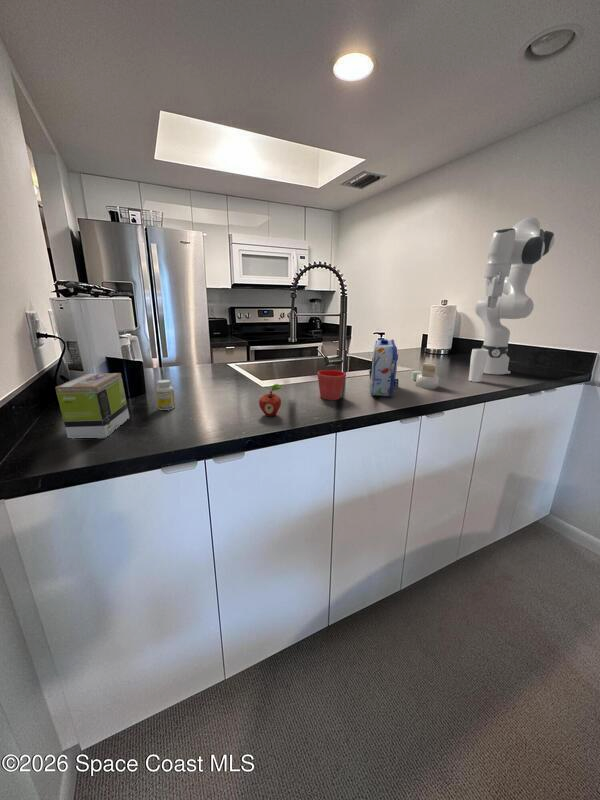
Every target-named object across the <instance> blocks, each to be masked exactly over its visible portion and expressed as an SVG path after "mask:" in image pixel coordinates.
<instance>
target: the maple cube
mask: <svg viewBox="0 0 600 800" xmlns="http://www.w3.org/2000/svg"><path fill="white" fill-rule="evenodd" d="M436 367H437V365H436V363H429V362H428V363H427V362H423V364H422V371H421V372H422V376H424V377H434V375H436V374H435V372H436Z"/></svg>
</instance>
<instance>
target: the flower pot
mask: <svg viewBox="0 0 600 800" xmlns="http://www.w3.org/2000/svg"><path fill="white" fill-rule="evenodd" d="M346 375H347V374H346V372H344V371H341V370H335V369H327V370H326V369H325V370H319V371H317V380H318V389H319V395H320V398H321V399H323V400H326V399H327V401H328V400H329V401H336V400H340V399H341V396H342V392H343V388H344V385H345V380H346Z"/></svg>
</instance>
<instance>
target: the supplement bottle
mask: <svg viewBox="0 0 600 800" xmlns="http://www.w3.org/2000/svg"><path fill="white" fill-rule="evenodd" d="M156 385H157V387H156V389H155V392H156V393H155V394H156V401H157V408H158V410H160V411H161V410H168V411H171V410H170V409H172V410H174V409H175V407H176V402H175V393H174V387H173V386H171V385H172V384H171V379H160V380H157V384H156ZM173 408H174V409H173Z"/></svg>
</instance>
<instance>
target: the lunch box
mask: <svg viewBox="0 0 600 800" xmlns="http://www.w3.org/2000/svg"><path fill="white" fill-rule="evenodd" d="M398 359H399V354H398V347H397V346H396V344H395V340H394V339H387V338H385V339H383V338H381V339H376V340H375V342H374V346H373V353H372V364H371V375H370V380H369V381H370V382H369V392H370V395H371V396H380V397H390V398H392V397H393V396H394V395H395V390H398V389H399V378H396V377H397V370H398Z"/></svg>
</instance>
